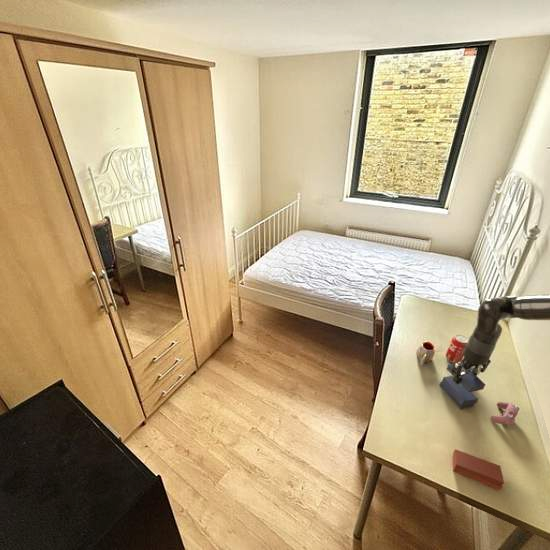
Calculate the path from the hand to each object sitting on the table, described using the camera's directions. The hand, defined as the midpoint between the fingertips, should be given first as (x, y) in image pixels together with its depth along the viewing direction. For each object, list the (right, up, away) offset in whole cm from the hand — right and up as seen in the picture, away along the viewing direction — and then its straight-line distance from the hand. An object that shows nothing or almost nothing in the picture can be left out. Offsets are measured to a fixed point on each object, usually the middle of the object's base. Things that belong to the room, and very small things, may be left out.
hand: (463, 380), depth 108 cm
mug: (-5, +2, +20) cm, 21 cm away
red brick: (-9, -21, -20) cm, 30 cm away
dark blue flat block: (0, +1, 0) cm, 1 cm away
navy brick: (0, -7, +4) cm, 8 cm away
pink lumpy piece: (+12, -12, -3) cm, 17 cm away
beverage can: (+9, +2, +21) cm, 23 cm away
